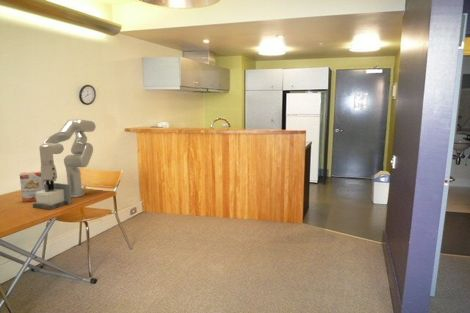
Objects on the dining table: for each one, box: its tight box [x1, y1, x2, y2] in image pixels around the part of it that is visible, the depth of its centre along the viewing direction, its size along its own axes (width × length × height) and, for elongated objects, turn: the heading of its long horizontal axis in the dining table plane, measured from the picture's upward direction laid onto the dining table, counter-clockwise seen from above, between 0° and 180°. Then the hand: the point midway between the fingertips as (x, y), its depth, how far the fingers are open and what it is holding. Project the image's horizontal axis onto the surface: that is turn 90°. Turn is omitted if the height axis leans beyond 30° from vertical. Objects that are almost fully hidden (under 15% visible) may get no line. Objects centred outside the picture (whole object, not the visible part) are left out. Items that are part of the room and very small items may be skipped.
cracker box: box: [19, 171, 45, 203], centre depth 234 cm, size 14×6×21 cm, turn 108°
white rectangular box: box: [35, 182, 65, 205], centre depth 221 cm, size 12×13×13 cm
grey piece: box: [32, 182, 72, 211], centre depth 222 cm, size 15×20×14 cm
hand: (49, 189), depth 221 cm, fingers closed
